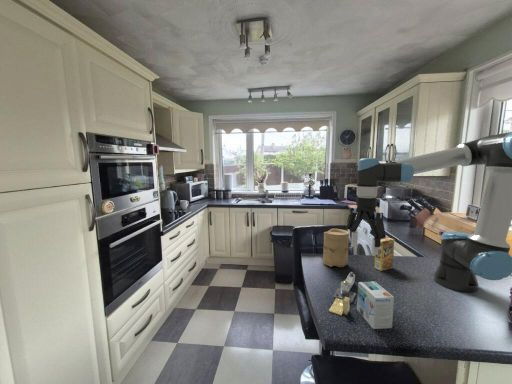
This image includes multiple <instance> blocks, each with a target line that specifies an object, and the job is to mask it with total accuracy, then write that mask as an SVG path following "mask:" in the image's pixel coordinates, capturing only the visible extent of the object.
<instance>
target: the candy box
mask: <svg viewBox="0 0 512 384" xmlns="http://www.w3.org/2000/svg"><path fill="white" fill-rule="evenodd" d="M394 254H395V239H394V238H390V237H386V238H383V239H381V240H380V247H378V254H377V255H374V269H376V270H378V271H380V272H381V271H386V270H390V269H393V268H394V256H395V255H394Z"/></svg>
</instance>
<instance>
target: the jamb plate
mask: <svg viewBox="0 0 512 384" xmlns="http://www.w3.org/2000/svg"><path fill="white" fill-rule="evenodd" d="M356 295H357V293H356V292H354V291H351V290H350V291H349V295H342V294H341V287H340V288H339V287H338V288H337V289H336V291H335V292H334V294H333V295H332V296H333V298H334V299H336V298H338V299H341V300H344V298H345V297H348V298H350V304H352V303H353V302H354V300H355V298H356Z"/></svg>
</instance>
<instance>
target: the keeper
mask: <svg viewBox="0 0 512 384" xmlns="http://www.w3.org/2000/svg"><path fill="white" fill-rule="evenodd" d="M350 304H351V303H350V298H348V297H345V298H344V300H341V299H338V298H334V301H333V302H332V304H331V306H330V308H329V309H328V312H329V313H331V314H335V315H338V316H340V317H342V316H343V315H345V316H348V314H349V312H350Z"/></svg>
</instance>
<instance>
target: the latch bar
mask: <svg viewBox="0 0 512 384" xmlns="http://www.w3.org/2000/svg"><path fill="white" fill-rule="evenodd" d="M355 281H356V274H355V273H354V271H349V273H348V275H347V277H346V278H345V279H344V280H342V281H340V289H341V294H342V295H349V291H350V292H351V289H352V288H353V286H354V283H355Z"/></svg>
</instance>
